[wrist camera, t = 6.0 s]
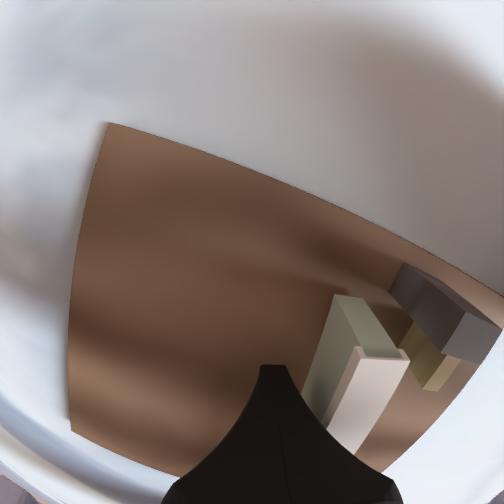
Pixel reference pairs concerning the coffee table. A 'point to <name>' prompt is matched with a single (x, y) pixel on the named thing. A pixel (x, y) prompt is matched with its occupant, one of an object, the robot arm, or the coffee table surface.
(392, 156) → the coffee table surface
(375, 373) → the gate
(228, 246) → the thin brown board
